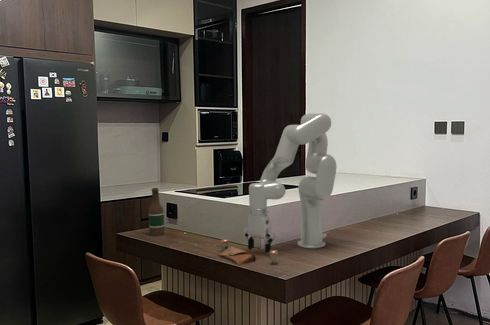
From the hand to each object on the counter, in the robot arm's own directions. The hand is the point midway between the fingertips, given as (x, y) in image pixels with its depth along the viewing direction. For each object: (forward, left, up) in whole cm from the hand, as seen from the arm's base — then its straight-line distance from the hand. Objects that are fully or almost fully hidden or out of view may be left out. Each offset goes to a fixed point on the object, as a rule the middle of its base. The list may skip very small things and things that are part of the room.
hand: (259, 250), depth 208 cm
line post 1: (+7, -14, -1) cm, 16 cm away
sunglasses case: (+12, -3, -2) cm, 12 cm away
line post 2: (+7, +14, -1) cm, 16 cm away
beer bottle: (+7, -64, -2) cm, 65 cm away
